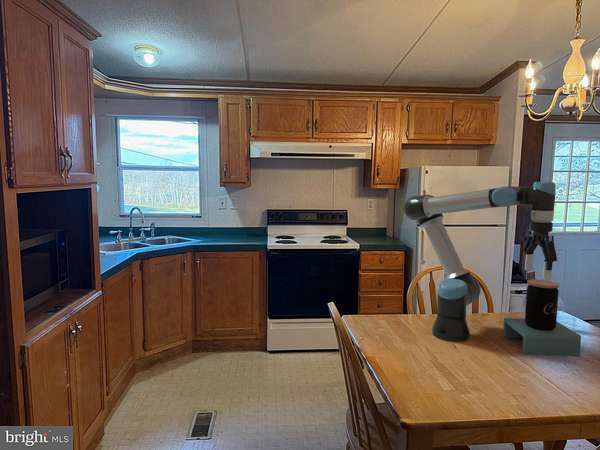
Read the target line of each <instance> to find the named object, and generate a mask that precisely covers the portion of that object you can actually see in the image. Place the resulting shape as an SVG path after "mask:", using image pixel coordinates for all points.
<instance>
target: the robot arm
mask: <svg viewBox="0 0 600 450" xmlns="http://www.w3.org/2000/svg"><path fill="white" fill-rule="evenodd" d="M556 188H557V185H556V183H555V182H554V181H534V182H533V185H532V186H515V185H514V186H512V185H510V186H509V185H507V186H506V185H505V186H500V187H495V188H488V189H480V190H474V191H472V190H471V191H467V192H459V193H451V194H446V195H439V196H438V195H437V196H435V195H431V194H422V195H421V194H420V195H412V196H411V197H409V198H407V199H406V200H405V202H404V204H403V211H404V215H405V216H406V217H407V218H408V219H409V220H412V221H417V223H418V226H419V227H420V228H423V229H424V230H425V231H424V232H426V235H427V237H428V239H429V242H430V244H431V246H432V248H433V251H434V252H435V254H436V256H437V259H438V261H439V263H440V265H441V268H442V270H443V272H444V275H445V277H444V279H443V280H441V281H439V283H438V285H437V288H436V289H437V290H436V291H437V292H436V293H437V297H436V298H437V301H436V304H437V305H436V317H435V320H434V322H433V325H432V327H431V334H432V335H433V336H434V337H436V338H437V339H440V340H444V341H448V342H465V341H466V342H467V340H468V341H469V339H470V334H471V333H470V332H471V331H470V329H469V324H468V323H467V306H469V305H470V304H473V303H474V302H476V301H477V299H479V297H480V295H481V292H482V291H481V290H482V289H481V285H480V283H479V281H478V280H477V279H476V278H474V277H473V276H472V274H471V272H470V271H469V269H468V270H467V269H466V268H464V266H463V263H462V262H461V259H460V257H459V255H458V253H457V250H456V248H455V246H454V244H453V242H452V240H451V237H450V235H449V234H448V231H447V229H446V227H445V225H444V223H443V219H444V214H449V213H458V212H466V211H475V210H476V211H477V210H485V209H493V208H496V209H497V208H506V207H510V206H512V207H513V206H530V207H531V209H530V211H531V212H530V220H531V221H530V223H529V224H530V225H529V231H528V232H527V233H528V235H527V238H526V240H525V243H524V246H523V249H522V252H524V254H525V261H524V262H525V263H524V264H525V265H524V270H525V271H533V267H534V258H535V257H534V254H535V253H534V252H535V250H536V248H537V247H538V246H539V247H540V248H541V252H542V254H543V257H544V260H543V271H542V279H546V278H549V279H550V280H551V279H552V274H553V272H552V271H553V263H554V262H557V261H558V256H557V252H556V247H555V242H554V240H555V236H554V235H550V234H549V233H551V232H553V229H554V227H553V225H554V223H553V221H554V216H555V203H556V194H557V193H556Z"/></svg>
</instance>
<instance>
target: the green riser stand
mask: <svg viewBox="0 0 600 450" xmlns="http://www.w3.org/2000/svg"><path fill="white" fill-rule="evenodd" d="M502 330H503V331H502V337H503V338H507V339H508V338H509V339H512V338H513V339H514V338H515V339H522V354H523V355H524V356H525V355H526V356H558V357H580V355H581V343H582V335H580V334H579V333H577V332H576V331H573V330H572V329H571V328H569V327H567V326H565V325H564V324H562V323H560V322H558V321H557V320H556V327H555V328H554V330H551V331H543V330H537V329H533V328H531V327H529V326H527V324H526V323H525V318H519V317H518V318H517V317H515V318H514V317H512V318H511V317H504V318H503V329H502Z"/></svg>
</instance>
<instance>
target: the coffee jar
mask: <svg viewBox="0 0 600 450" xmlns="http://www.w3.org/2000/svg"><path fill="white" fill-rule="evenodd" d="M526 282H527V286H526V295H525V296H526V297H525V311H524V319H525V323H526V324H527V326H529V327H531V328H533V329H537V330H543V331H551V330H554V328H555V327H556V321H557V318H558V303H559V289H558V288H559V286H560V284H559V283H558V282H556V281H552V280H551V281H548V280H546V279H540V278H539V279H533V278H532V279H528V280H527V281H526Z"/></svg>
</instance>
